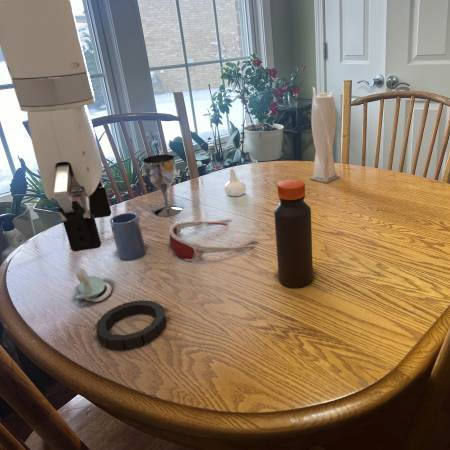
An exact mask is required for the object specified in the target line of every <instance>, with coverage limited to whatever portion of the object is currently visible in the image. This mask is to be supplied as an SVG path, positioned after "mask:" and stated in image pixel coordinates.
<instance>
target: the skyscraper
mask: <svg viewBox="0 0 450 450" xmlns="http://www.w3.org/2000/svg"><path fill="white" fill-rule="evenodd" d="M310 120H311V132H312V133H311V134H312V141H313V144H314V148H315V153H314V163H313V173H312V176H311V177H309V180H310V181H314V182H318V183H323V184H329V183H331V182H333V181H335V180H338V179H339V178H341V176H340V175H337V174H336V166H335V160H334V153H333V149H332V148H333V144H334V141H335V134H336V126H337V117H336V106H335V97H334V94H333V93H332V92H331V91H329V94H328V92H326V91H325V92H318V93H317V91H316V88H315V87H314V86H313V87H312V102H311V118H310Z"/></svg>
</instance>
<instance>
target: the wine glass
mask: <svg viewBox="0 0 450 450" xmlns="http://www.w3.org/2000/svg"><path fill="white" fill-rule="evenodd" d="M142 163H143V168H144V172H145V174H146V177H147V179H148V181H149V182H150V183H151V184H152V185H153V186H154V187H156V188H157V189H158V190H160V192H161V194H162V197H163V199H164V205H165V206H164V207H162V208H161V207H160V208H159V209H157V210H155V212H154V215H155V216H156V217H159V218H160V217H162V218H163V217H164V218H165V217H172V216H176V215H178V214H180V213H181V212H182V208H181V207H179V206H175V205H170V204H169V199H168V198H169V197H168V191H169V188H170V186H171V185H172V183H173V182H174V181H175V178H176V173H177V172H176V168H177V167H176V160H175V156H174V155H172V154H155V155H150V156H147V157H145V158H143V159H142Z"/></svg>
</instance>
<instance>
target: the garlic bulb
mask: <svg viewBox="0 0 450 450" xmlns="http://www.w3.org/2000/svg"><path fill="white" fill-rule="evenodd" d="M229 171H230V172H229V180H228V181H227V182H226V183H225V185H224V192H225V195H227V196H229V197H239V196H242V195H244V194H245V193H246V191H247V187H246V184H245V183H244V181H242V180H240V179H238V177H237V175H236V172H235V168H234V167H233V168H230V169H229Z"/></svg>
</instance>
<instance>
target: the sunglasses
mask: <svg viewBox="0 0 450 450" xmlns="http://www.w3.org/2000/svg"><path fill="white" fill-rule="evenodd" d="M200 225H201V226H203V225H216V226H217V225H218V226H224V227H226V226H228V225H229V223H228V222H221V221H201V220H200V221H197V220H196V221H195V220H194V221H184V222H177V223H175V224H172V225H171V226H170V227H169V229H168V230H169V232H168V233H169V242H170V245H171V249H172V251H174V252H175V254H176V255H177V257H178V258H179V259H180V260H182V261H187V262H196V261H198V260H199V259H202V258H203V256H204V254H216V253H217V254H218V253H225V252H231V251H239V250H250V249H253V248H255V247H256V244H249V245H242V246H240V245H239V246H227V247H226V246H210V245H209V246H208V245H202V244H198V243H194V242H191V241H187V240H185V239H183V238H181V237H180V235H181V231H182V230H184V229H187V228H189V227H190V228H191V227H195V226H200Z"/></svg>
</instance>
